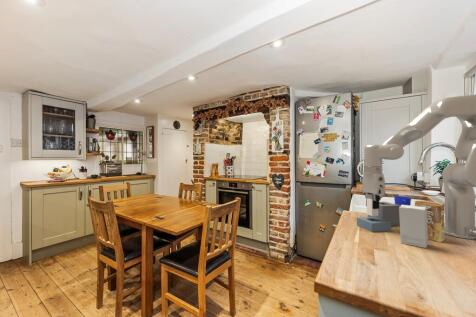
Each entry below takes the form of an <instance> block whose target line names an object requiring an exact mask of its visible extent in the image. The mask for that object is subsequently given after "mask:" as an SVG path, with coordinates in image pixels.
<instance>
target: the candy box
mask: <svg viewBox="0 0 476 317" xmlns="http://www.w3.org/2000/svg"><path fill="white" fill-rule="evenodd" d="M414 206H420V207H426V210H427V229H428V240H431V241H435V242H438V243H443V242H444V241H445V239H446V238H445V234H444V227H445V203H442V202H441V203H440V202H435V201H434V202H433V201H432V202H431V201H425V200H419V199H418V200H416V201H414Z"/></svg>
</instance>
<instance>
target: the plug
mask: <svg viewBox="0 0 476 317" xmlns="http://www.w3.org/2000/svg"><path fill="white" fill-rule="evenodd" d="M376 197H377V195H376ZM372 202H373V194H367V207H366V215H367V216H368V215H370V216H378V209H373V208H372Z"/></svg>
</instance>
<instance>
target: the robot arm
mask: <svg viewBox="0 0 476 317" xmlns="http://www.w3.org/2000/svg"><path fill="white" fill-rule="evenodd" d="M453 117H454V118H455V117H456V118H457V119H458V121H459V122H460V123H461V132H460V136H459V138H458V140H457V143H456V145H455V148H454V150H453V151H454V153H453V154H454V156H455V157H456V159H458V160H461V161H464V163H463V162H458V163H457V162H455V163H450V164H448V165H447V166H446V165H445V167H444V168H443V170H442V173H441V174H442V176H441V177H442V183H443V186H444V235H448V236H451V237H453V238H454V237H456V238H461V239H468V240H476V192H475V189H474V188H476V94H468V95H459V96H449V97H444V98H441V99H440V100H437V101H434V102H433V103H430V104H429V105H428V106H426V107H425V108H424V109H423V110H422V111H421V112H420V113H419V114H418V115H417V116H416V117H414V118H413V119H412V120H411V121H410V122H408V123H407V124H405V126H403V127H402V128H401V129H400V130H399V131H397V132H396V133H394V134H393V135H392V136H390V137H389V138H388V139H387V140H386V141H385V142H384V143H383V144H366V145H364V147H363V148H364V149H363V150H364V151H363V158H364V159H363V175H362V182H361V183H362V184H361V186H362V187H361V188H362V190H361V192H362V194H363V195H364V197H365V199H366V200H365V201H366V202H365V207H366V208H367V194H373V202H372V208H373V209H379V202H381V199H382V198H384V197H385V196H386V195H385V194H386V181H385V175H384V173H383V160H384V161H385V160H389V161H396V160H399V159H401V158H402V157H403V156H404V154H405V150H404V148H405V146H407V145H409V144H411V143H414V142H415V141H417V140H420V139H422V138H424V137H426V136H427V135H428V134H429V133H430V132H431V131H432V130H433V129H435V128H436V127H437V126H438V125H439V124H440V123H441V122H442V121H444V120H445V119H449V118H453ZM376 195H377V197H376Z"/></svg>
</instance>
